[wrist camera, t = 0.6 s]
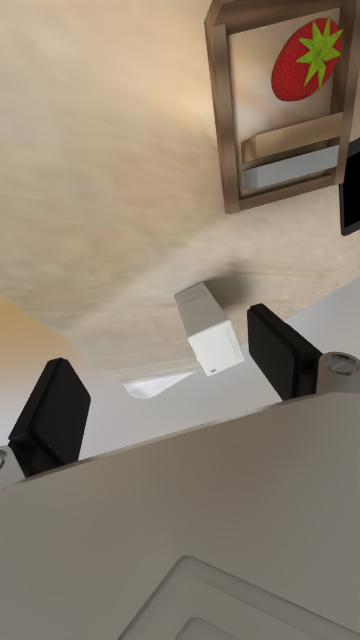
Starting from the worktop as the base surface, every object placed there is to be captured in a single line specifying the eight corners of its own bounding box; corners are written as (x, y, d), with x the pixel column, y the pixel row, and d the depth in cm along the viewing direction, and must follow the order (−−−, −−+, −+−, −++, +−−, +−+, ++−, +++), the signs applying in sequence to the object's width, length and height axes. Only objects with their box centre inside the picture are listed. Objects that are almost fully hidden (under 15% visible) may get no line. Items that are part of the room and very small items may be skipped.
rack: (204, 21, 26) (221, -21, 21) (353, -16, 27) (406, -67, 21) (225, 213, 37) (239, 216, 32) (331, 183, 37) (362, 181, 32)
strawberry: (309, 92, 31) (376, 52, 22) (261, 126, 32) (308, 100, 23) (299, 35, 28) (372, -36, 19) (247, 74, 29) (294, 23, 20)
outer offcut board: (242, 171, 34) (257, 167, 30) (314, 151, 35) (339, 144, 30) (243, 189, 36) (258, 188, 31) (312, 169, 36) (336, 166, 32)
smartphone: (339, 237, 43) (343, 238, 42) (335, 150, 35) (339, 149, 35) (375, 219, 43) (379, 220, 42) (379, 126, 35) (384, 125, 34)
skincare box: (215, 313, 46) (248, 361, 33) (187, 327, 47) (207, 379, 33) (201, 279, 42) (232, 318, 29) (170, 294, 42) (186, 340, 29)
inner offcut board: (240, 143, 33) (256, 135, 28) (316, 122, 33) (343, 111, 29) (241, 163, 34) (257, 158, 30) (314, 143, 34) (340, 135, 30)
